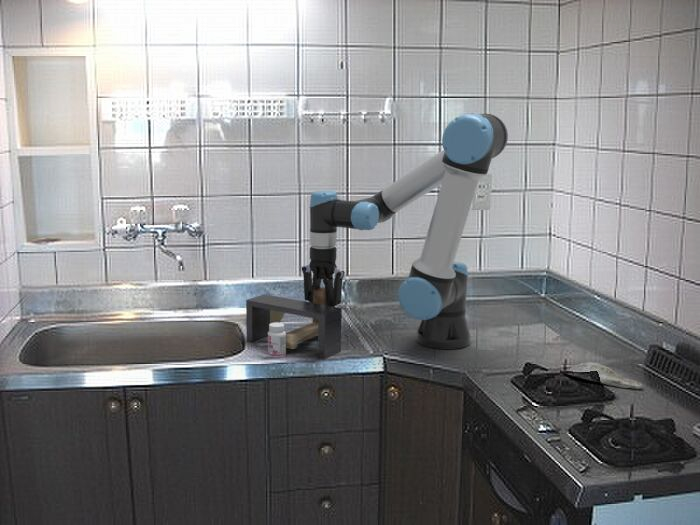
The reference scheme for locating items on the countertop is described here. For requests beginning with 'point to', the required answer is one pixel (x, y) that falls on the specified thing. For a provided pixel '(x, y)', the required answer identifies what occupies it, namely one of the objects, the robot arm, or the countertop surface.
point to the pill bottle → (276, 340)
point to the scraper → (310, 329)
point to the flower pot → (276, 316)
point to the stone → (607, 375)
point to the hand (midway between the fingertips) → (322, 326)
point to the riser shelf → (327, 315)
